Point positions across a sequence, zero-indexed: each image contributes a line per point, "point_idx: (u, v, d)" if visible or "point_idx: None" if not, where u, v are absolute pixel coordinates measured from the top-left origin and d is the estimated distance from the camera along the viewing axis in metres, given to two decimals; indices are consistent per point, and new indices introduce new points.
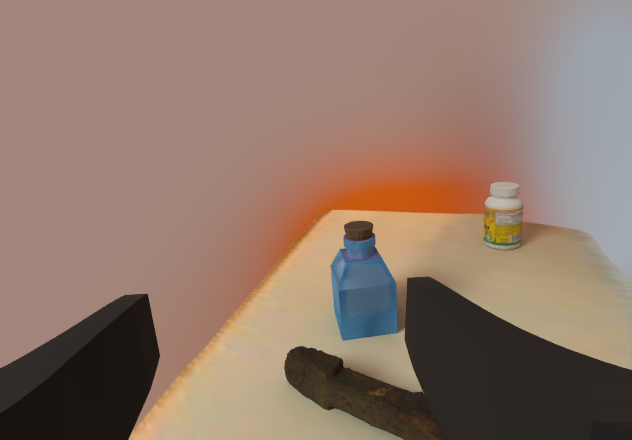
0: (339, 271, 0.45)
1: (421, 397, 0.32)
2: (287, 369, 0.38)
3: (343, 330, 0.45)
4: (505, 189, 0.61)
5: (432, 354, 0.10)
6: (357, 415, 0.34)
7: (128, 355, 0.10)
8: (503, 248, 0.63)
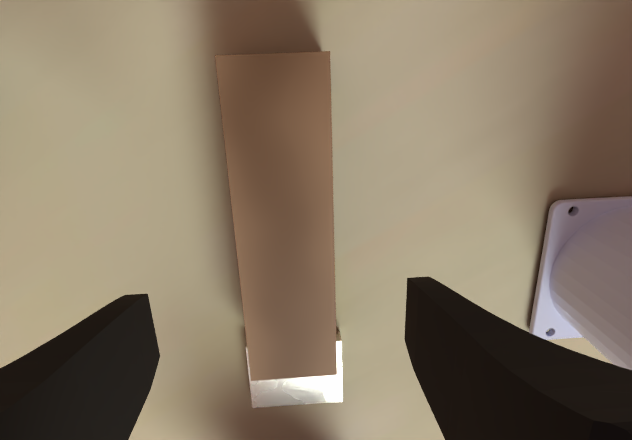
0: None
1: None
2: None
3: None
4: None
5: (432, 354, 0.10)
6: None
7: (128, 355, 0.10)
8: None
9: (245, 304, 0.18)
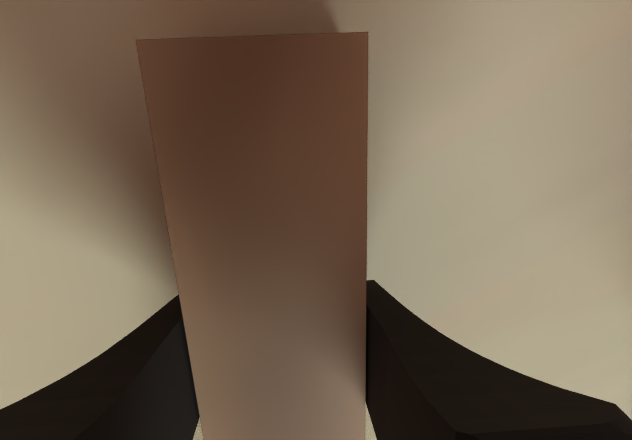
0: None
1: None
2: None
3: None
4: None
5: (367, 358, 0.10)
6: None
7: None
8: None
9: None
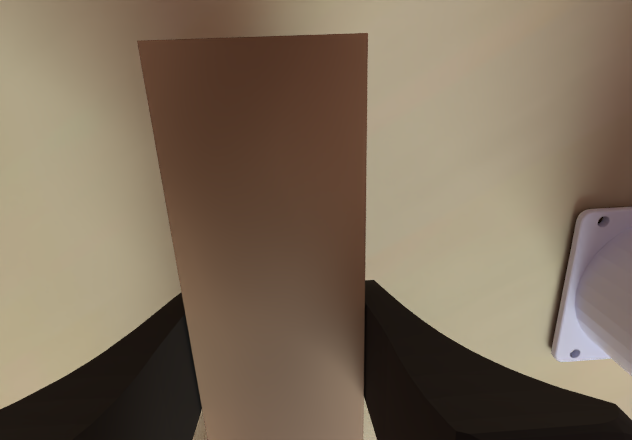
0: None
1: None
2: None
3: None
4: None
5: (367, 358, 0.10)
6: None
7: None
8: None
9: None
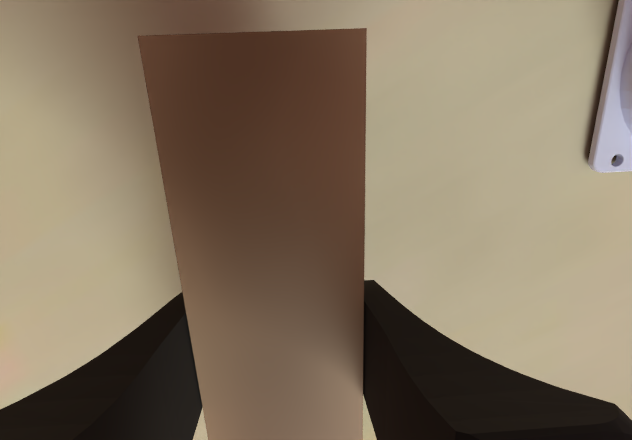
0: None
1: None
2: None
3: None
4: None
5: (367, 358, 0.10)
6: None
7: None
8: None
9: None
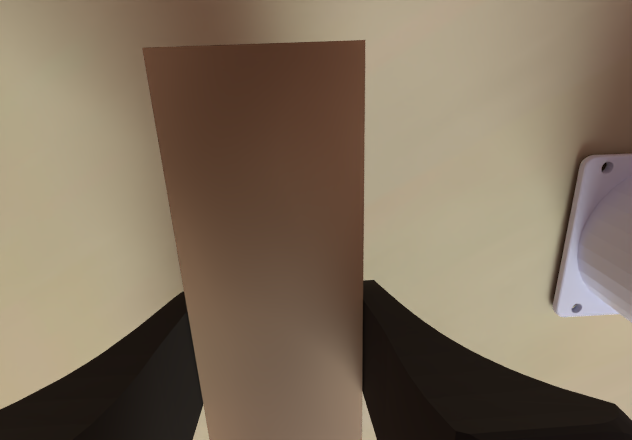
0: None
1: None
2: None
3: None
4: None
5: (367, 358, 0.10)
6: None
7: (193, 350, 0.10)
8: None
9: None
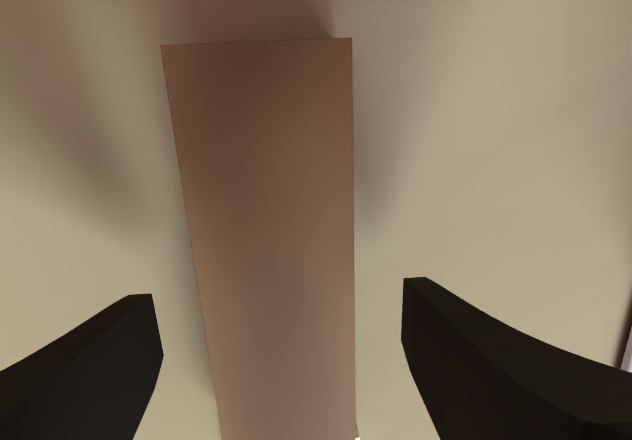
0: None
1: None
2: None
3: None
4: None
5: (427, 354, 0.10)
6: None
7: (133, 355, 0.10)
8: None
9: (222, 416, 0.12)
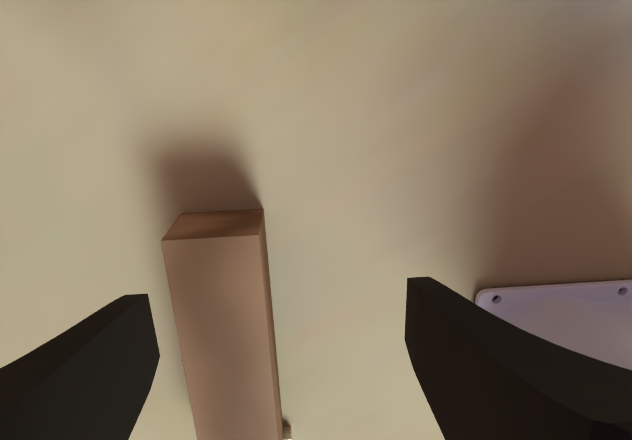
0: None
1: None
2: None
3: None
4: None
5: (432, 354, 0.10)
6: None
7: (128, 355, 0.10)
8: None
9: (197, 426, 0.20)
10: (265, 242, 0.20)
